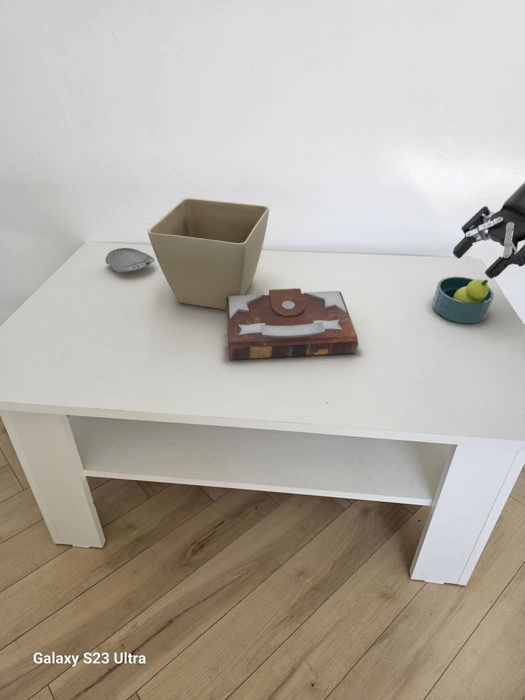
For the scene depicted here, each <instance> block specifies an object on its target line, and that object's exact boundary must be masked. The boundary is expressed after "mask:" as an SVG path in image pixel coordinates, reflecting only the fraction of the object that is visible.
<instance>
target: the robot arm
mask: <svg viewBox="0 0 525 700" xmlns="http://www.w3.org/2000/svg"><path fill="white" fill-rule="evenodd" d="M502 204H503V205H502V206H501V208H500V209H499V210H498V211H496V212H493V211H491V210H490V209H489V207H488V206H487V205H484V206H483V207H481V208H480V209H479V210H478V211H477V212H476V213H475V214H474V215H473V216H472V217H471V218H469V219H468V221H466V222H465V223H464V225H462V226H461V231H462V233H463V234H464V237H463V238H462V239H461V240H460V241H459V242H458V243H457V244H456V245H455V246H454V247H453V251H452V254H453V255H454V257H455V258H456V259H461V258H462V257H463V256H464V255H465V254H466V253H467V252H468V251H469V250H470V249H471V248H472V247H473V246H474V244H475V243H478V242H480V241H489V240H491V241H493V242H494V243H499V245H500V246H502V247H504V248H503V254H502V256H499V257H497V259H496V260H495V261H494V262H493V263H492V264H491V265H490V266H489V267H488V268H487V269H486V270H485V272H484V274H485V276H486V277H487V278H488V279H491V280H493V279H494V278H497V277H499V276H500V275H501V274H502V273H503V272H504V271H505V269H506V268H508V267H509V266H511V265H516V266H518V267H523V266H525V243H524V244H523V245H522V247H520V249H519V250H518V248H519V243H520V242H524V241H525V181H523V182H522V184H521V185H519V186H518V188H517V189H516V190H515V191H514V192H513V193H512V194H511V195H510V196H509V197H508V198H507V199H506V200H505V201H504V202H503V203H502ZM486 231H487V232H486Z"/></svg>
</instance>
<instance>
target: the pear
mask: <svg viewBox="0 0 525 700" xmlns="http://www.w3.org/2000/svg"><path fill="white" fill-rule="evenodd" d="M488 282H489V281H488V279H484V280H483V279H474V280H473V281H471V282H470V283H469V284H468V285H467V286H466V287H462V288H460V289H458V290H457V291H456V293H455V294H454V296H453V299H455V300H458V301H462V302H467V303H480V302H482V299H483V298H485V297H486V296H487V294H488V292H489V288H490V286H489V284H488Z"/></svg>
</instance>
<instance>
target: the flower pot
mask: <svg viewBox="0 0 525 700" xmlns="http://www.w3.org/2000/svg"><path fill="white" fill-rule="evenodd" d="M269 213H270V207H269V206H268V205H259V204H252V203H241V202H232V201H224V200H212V199H204V198H203V199H201V198H192V197H186V198H183V199H181V200H180V201H179V202H178V203H177V204H175V206H174V207H173V208H172V209H170V210H168V212H167V213H166V214H165V215H163V216H162V217H161V218H160V219H159V220H158V221H157V222H156V223H154V224H153V225H152V226H151V227H150V228H149V229H147V235H148V239H149V241H150V244H151V247H152V250H153V253H154V255H155V257H156V260H157V262H158V264H159V267H160V269H161V272H162V274H163V275H164V278H165V280H166V282H167V283H168V285H169V287H170V289H171V291H172V292H173V295H174V296H175V297H176V299H177V300H178V302H179V303H181V304H187V305H192V306H200V307H205V308H212V309H218V310H224V311H225V310H226V311H227V304H226V297H228V296H238V295H246V294H247V291H249V288H250V286H251V285H252V282H253V280H254V277H255V275H256V271H257V268H258V265H259V262H260V261H259V260H260V257H261V253H262V250H263V246H264V241H265V237H266V231H267V225H268V220H269Z"/></svg>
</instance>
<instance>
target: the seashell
mask: <svg viewBox="0 0 525 700" xmlns="http://www.w3.org/2000/svg"><path fill="white" fill-rule="evenodd" d="M104 261H105V264H106V265H109V266H111V268H112V270H114V271H116V272H119V273H130V272H132V271H134V272H135V271H137V270H141V269H145V268H147V267H149V266H150V265H151V264H153V263H155V261H156V259H155V258H154V257H152V256H151V255H150V254H148V253H146V252H143V251H141V250H139V249H135V248H130V247H120V248H115V249H113V250H110V251H109V252H108V253H107V255H106V257H105V259H104Z"/></svg>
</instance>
